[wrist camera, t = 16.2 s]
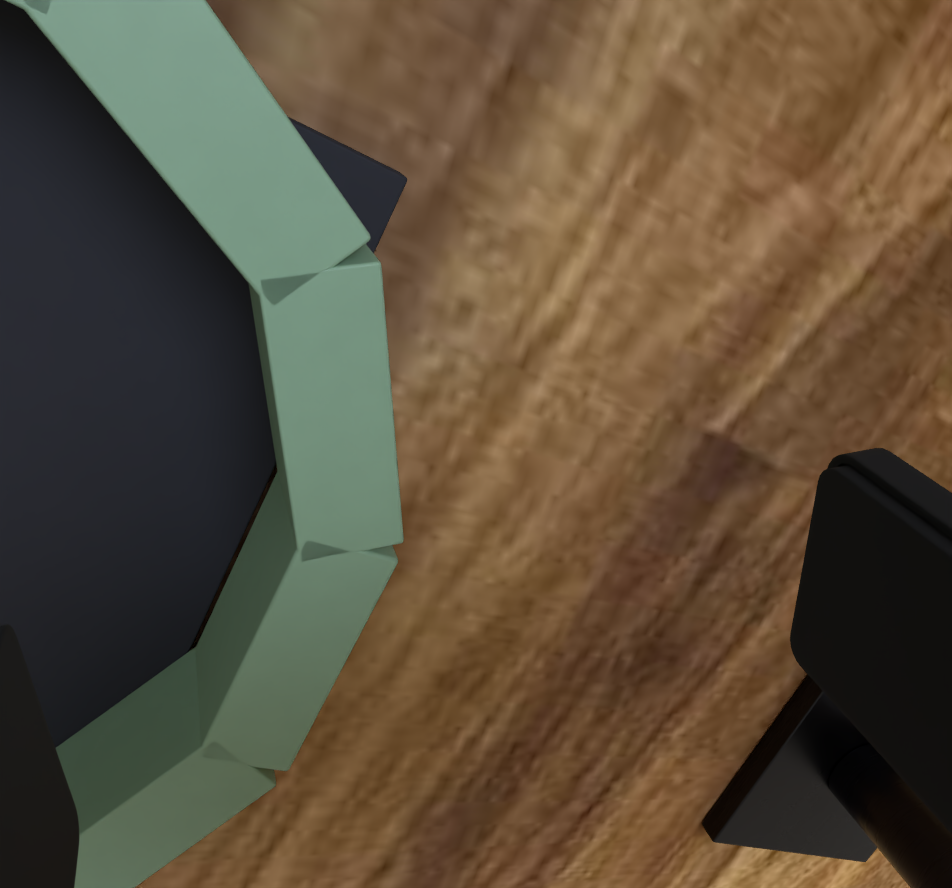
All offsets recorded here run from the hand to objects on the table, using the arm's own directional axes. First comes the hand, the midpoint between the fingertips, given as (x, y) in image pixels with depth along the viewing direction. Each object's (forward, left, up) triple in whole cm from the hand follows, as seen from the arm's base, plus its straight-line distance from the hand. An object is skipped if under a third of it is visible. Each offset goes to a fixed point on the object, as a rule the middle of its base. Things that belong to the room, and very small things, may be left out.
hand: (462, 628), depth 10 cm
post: (+7, +23, -10) cm, 26 cm away
